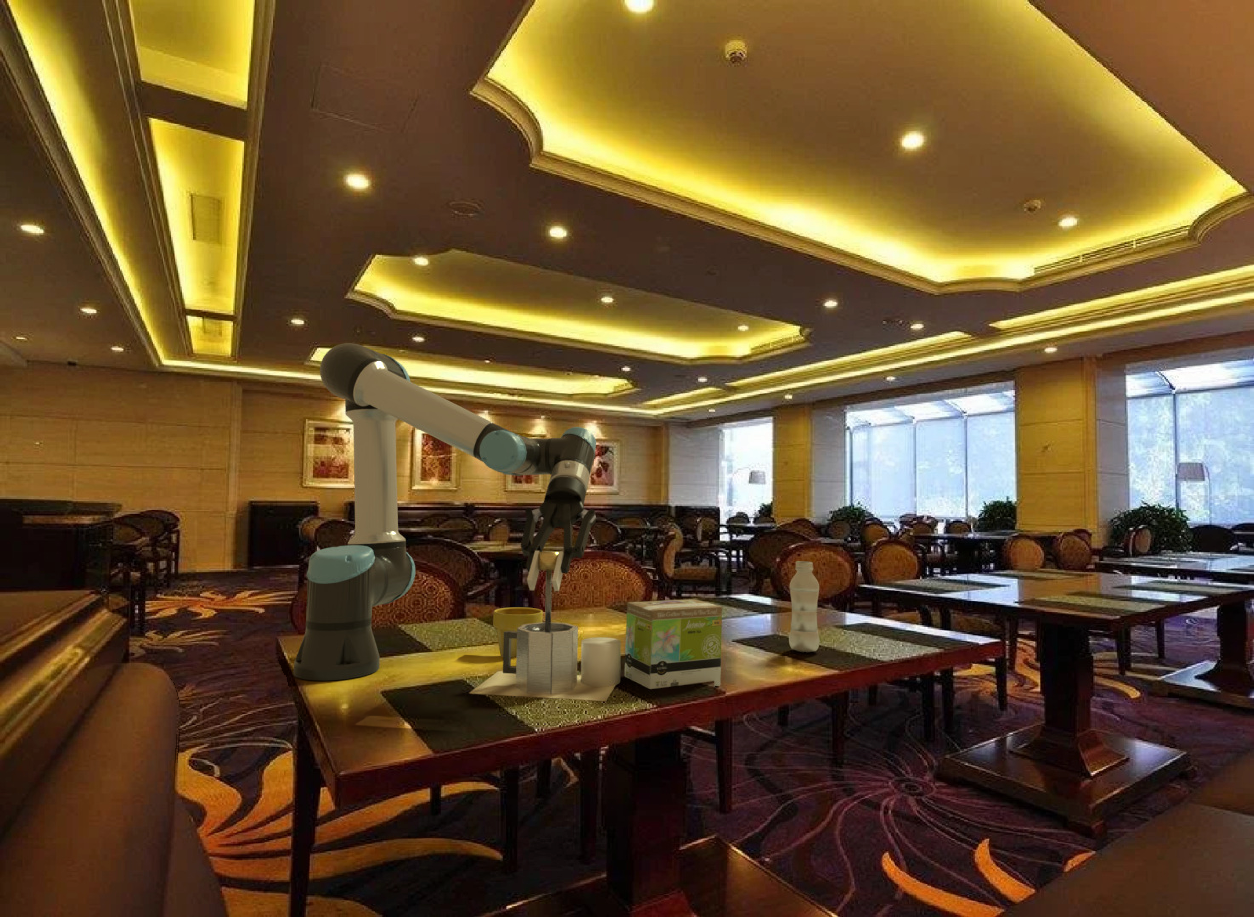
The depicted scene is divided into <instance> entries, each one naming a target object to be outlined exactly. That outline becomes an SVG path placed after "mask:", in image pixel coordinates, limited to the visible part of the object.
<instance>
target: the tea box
mask: <svg viewBox="0 0 1254 917" xmlns="http://www.w3.org/2000/svg"><path fill="white" fill-rule="evenodd" d="M626 605H627V607H626V622H625V624H626V625H625V626H626V627H625V649H624V650H625V652H624V653H625V656H624V677H625V678H627V679H630V680H631V681H633V682H636V683H637V684H639V685H641V686H643V687H645V688H647V689H650V690H652V689H661V688H662V689H663V688H669V687H670V688H671V687H677V686H684V685H685V686H686V685H695V684H701V683H707V682H714V683H713V688H716V687H715V686H719V687H720V686H721V676H722V675H721V672H722V671H721V670H722V668H721V667H722V628H723V625H722V624H723V607H722V606H720V605H718V604H712V603H709V602H707V601H703V600H699V599H673V600H652V601H650V600H649V601H629V602H627V604H626Z"/></svg>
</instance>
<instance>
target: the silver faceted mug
mask: <svg viewBox="0 0 1254 917" xmlns="http://www.w3.org/2000/svg"><path fill="white" fill-rule="evenodd" d="M540 630H545V621H542V622H541V623H531V624H524V625H522V626H520V627H519V628H517V631H505V632H504V644H503V657H502V671H503V673H510V674H516V688H517V689H519V690H521V691H523V692H525V693H528V694H544V695H553V694H558V693H564V692H569V691H572V690H573V689H574V688H575V687H576V685H577V675H578V650H579V649H578V645H579V644H578V643H579V642H578V641H579V640H578V638H579V633H578V632H579V626H577V625H574V624H570V623H568V622H552V621H551V630H557V631H559V632H533V631H540ZM511 638H515V639H517V657H516V660H515V661H516V662H515V663H516V665H512V662H511V661H512V657H511Z"/></svg>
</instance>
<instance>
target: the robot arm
mask: <svg viewBox="0 0 1254 917" xmlns="http://www.w3.org/2000/svg"><path fill="white" fill-rule="evenodd" d="M319 375H320V379H321V381H322V384H323V385H324V387H325V388H326V389H327V391H329V392H330V393H331V394H332V395H334V396H336V397H337V398H340V399H342V400H344V401H345V402H344V404H345V405H344V406H345V411H344V412H345V416H346V417H347V418H348V419H350V421H352V422H353V423H352V425H353V426H352V427H353V432H352V433H353V470H354V471H353V474H354V478H353V480H354V483H353V484H354V523H355V524H354V525H355V527H354V529H355V530H354V531H355V534H354V536H352V538H351V539H349V541H348V542H347V545H339V546H330V547H326V548H323V549H319V550H316V551H315V552H314V553H312V554H311V556H310V557H309V560H308V569H307V572H306V576H307V577H306V578H307V590H306V591H307V592H306V610H305V611H306V612H305V614H306V615H305V616H306V617H305V633H304V635H303V639H302V640H301V644H300V647H299V649H298V650H297V654H296V657H295V659H294V663H293V676H294V677H296V678H297V679H301V680H307V681H339V680H347V679H348V680H349V679H354V678H355V679H356V678H360V677H365V676H367V675H371V674H373V673H375V672H377V671H379V669H380V658H381V657H380V654H379V651H378V646H377V643H376V640H375V637H374V632H373V630H372V621H373V620H372V618H373V616H372V615H373V607H377V606H380V605H387V604H390V603H393V602H396V600H399V599H400V598H402V597H403V596H405V595H406V594H407V593H408V591H409V590H410V589H411V588H412V586H413V583H414V582H415V577H416V565H415V561H414V559H413V557H412V556H411V555H410V554H409V552H407V541H406V538H405V537H404V536H403V535H402V534H400V532H399V524H398V523H399V521H398V520H399V518H398V477H397V476H398V475H397V474H398V473H397V470H398V468H397V436H396V435H397V433H396V432H397V430H396V423H397V421H398V420H399V421H402V422H403V423H406V424H407V425H410V427H413V428H415V429H418V430H419V431H421V432H424V433H425V434H427V435H429V436H432V438H436V439H438V440H439V441H441V442H443V443H445V444H447V445H449V446H452V447H453V448H455V449H456V450H459V451H461V452H463V453H465V454H466V455H469V456H471V457H473V458H475V459H477V460H479V462H482V463H483V464H484V465H485V466H486V467H488V468H489V469H491V470H493V471H495V472H498V473H501V474H503V475H506V476H518V477H520V476H536V475H537V476H539V475H540V476H541V475H542V476H543V475H550V478H549V481H548V484H547V488H546V491H545V495H544V499H543V502H542V503H541V505H540V506H539V508H536V509H533V510H532V508H531V507H527V508H525V515H526V520H525V524H524V528H523V534H522V538H521V542H520V548H521V553H522V556H524V557H525V558H526V557H527V560H526V563H525V566H526V569H527V572H528V575H527V580H526V583H527V585H528V588H529V589H528V590H529V591H535V589H536V585H537V581H538V577H539V574H540V570H539V552H542V551H544V548H545V546H546V544H547V542H548V539H549V538H550V535H551V534H553V533H554V530H555V529H556V528H562V529H563V550H561V551H558V552H559V553H558V558H557V562H556V566H555V570H553V573H552V588H553V590H554V592H559V591H560V589H561V588H560V587H561V583H562V578H563V574H568V573H569V571H570V567H571V563H572V560H573V559H574V558H575V559H576V558H577V559H581V558H583V556H584V554H585V550H586V547H587V544H588V540H589V536H590V532H591V528H592V527H593V525H594V524H595V523H596V521H597V517H596V511H595V509H592V508H590V509H589V510H587V509H585V507H584V505H585V501H586V495H587V491H588V486H589V482H590V478H591V472H592V468H593V463H594V461H595V458H596V449H597V440H596V438H595V436H594V434H593V433H592V432H591V431H590V430H588V429H587V428H584V427H580V426H573V427H570V428H568V429H565V431H564V432H563V434H562V435H561V437H551V438H532V437H531V438H529V437H527V436H523V435H520V434H517V433H516V432H512V431H511V430H509V429H506V428H505V427H502V425H499V424H496V423H494V422H492V421H490V420H488V419H486V418H484V417H482V416H481V415H478V414H476V413H474V412H473V411H470V410H468V409H466V408H465V407H462V406H460V405H458V404H456V403H454V402H451V401H450V400H448V399H446V398H444V397H442V396H440V395H438V394H436V393H434V392H433V391H430V390H428V389H426V388H424V387H422V386H420V385H418V384H415V383H414V382H412V381H411V379H410V375H409V373H408V371H407V369H406V368H405V367H404V366H403V364H401V363H400V362H399V361H397V360H396V359H395V358H393V357H392V356H390V355H387V354H385V353H380V352H378V351H375V350H373V349H371V348H368V347H366V346H364V345H361V344H358V343H352V342H345V343H341V344H338V345H335V346H333V347H332V348H330V349H329V350H328V351H326V353H325V354H324V356H323V357H322V359H321V361H320V367H319ZM540 516H541V517H542V523H541V525H540V527H539V530H538V531H537V534H536V535H535V532H536V523H537V522H538V521H539V518H540ZM581 518H582V519H581ZM579 520H582V521H581V524H580V527H579V530H578V533H577V537H576V540H575V544H574V546H573V533H574V532H573V527H574V526H573V525H574V524H575V523H576V522H578V521H579ZM534 535H535V536H534Z"/></svg>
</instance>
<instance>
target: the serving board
mask: <svg viewBox="0 0 1254 917" xmlns="http://www.w3.org/2000/svg"><path fill="white" fill-rule="evenodd" d="M615 687H616V685H613V686H605V687H596V686H588V685H585V684H582V683H581V674H577V685H576V687H575V688H574V689H573V690H572V691H569V692H564V693H558V694H553V695H544V694H528V693H525V692H523V691H521V690H519V689H517V688H516V674H510V673H503V670H498V671H496V672H495V673H494V674H493V675H491V676H490V677H489V678H487V679H486V680H484V681H483V682H482V683H480V684H479V685H477V686H476V687H475V688H474V689H471V691H470V692H469V694H471V695H490V696H510V697H525V698H526V697H527V698H545V699H559V700H560V699H561V700H562V699H563V700H580V701H596V702H597V701H598V702H607V700H608V698H609V697H610V695H611V694H612V692H613V690H614V688H615Z"/></svg>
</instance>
